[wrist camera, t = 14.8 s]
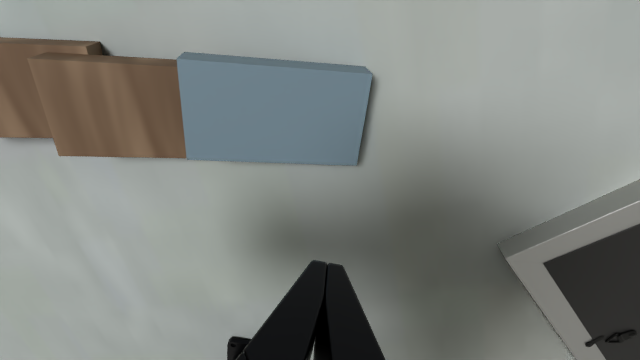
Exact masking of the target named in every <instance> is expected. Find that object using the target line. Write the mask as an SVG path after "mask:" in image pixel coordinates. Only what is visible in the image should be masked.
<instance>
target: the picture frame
mask: <svg viewBox="0 0 640 360" xmlns="http://www.w3.org/2000/svg"><path fill="white" fill-rule="evenodd" d="M497 245H498V246H499V248H500V250H501V252H502V254H503V256H504V258H505V259H506V261H507V262H508V264H509V265H510V266H511V268H512V269H513V271H514V272H515V273H516V275H517V276H518V278H519V279H520V281H521V282H522V283H523V285H524V286H525V288H526V289H527V290H528V292H529V293H530V295H531V296H532V298H533V299H534V300H535V302H536V303H537V305H538V306H539V307H540V309H541V310H542V312H543V313H544V315H545V316H546V317H547V319H548V320H549V322H550V323H551V325H552V326H553V327H554V329H555V330H556V332H557V333H558V334H559V336H560V337H561V339H562V340H563V342H564V343H565V344H566V346H567V347H568V349H569V350H570V351H571V353H572V354H573V356H574V357H575V359H576V360H640V179H639V180H637V181H635V182H633V183H630V184H628V185H626V186H624V187H622V188H619V189H617V190H615V191H613V192H611V193H608V194H606V195H604V196H602V197H599V198H597V199H595V200H593V201H591V202H588V203H586V204H584V205H582V206H580V207H577V208H575V209H573V210H571V211H569V212H566V213H564V214H562V215H560V216H558V217H555V218H553V219H551V220H549V221H546V222H544V223H542V224H540V225H538V226H535V227H533V228H531V229H529V230H527V231H524V232H522V233H520V234H518V235H516V236H513V237H511V238H509V239H507V240H505V241H502V242H500V243H498V244H497Z"/></svg>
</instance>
